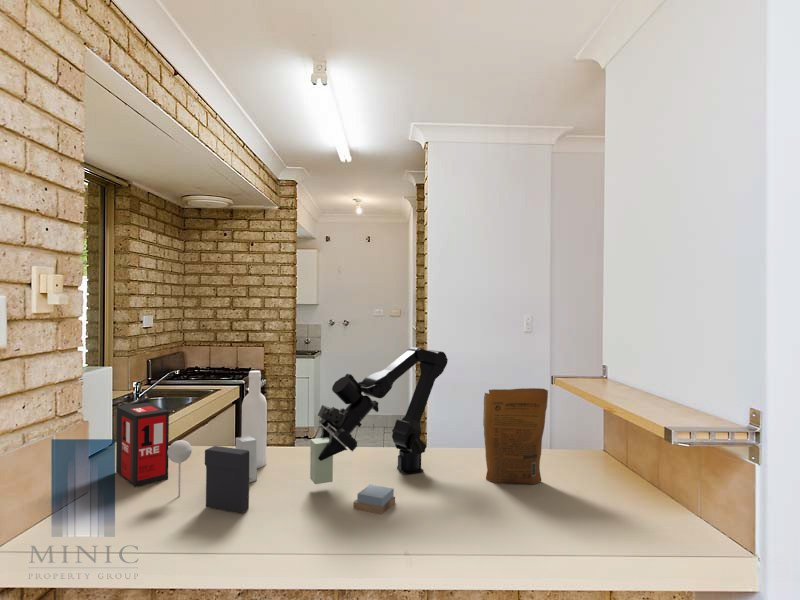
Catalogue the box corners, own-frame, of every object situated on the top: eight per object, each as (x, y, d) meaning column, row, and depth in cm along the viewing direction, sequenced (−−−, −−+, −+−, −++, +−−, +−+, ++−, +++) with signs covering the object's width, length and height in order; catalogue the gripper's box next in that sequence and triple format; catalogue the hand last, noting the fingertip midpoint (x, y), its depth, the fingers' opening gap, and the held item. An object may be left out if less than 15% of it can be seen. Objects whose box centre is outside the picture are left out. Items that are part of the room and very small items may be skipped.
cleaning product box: (116, 472, 149) (116, 406, 149) (147, 465, 156) (147, 402, 156) (135, 487, 138) (136, 416, 138) (168, 479, 144) (168, 411, 144)
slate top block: (369, 492, 132) (369, 484, 132) (393, 496, 129) (393, 488, 129) (357, 502, 126) (357, 493, 126) (382, 507, 123) (382, 498, 123)
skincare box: (257, 480, 144) (258, 439, 144) (242, 484, 141) (243, 441, 141) (249, 474, 149) (249, 434, 149) (234, 478, 146) (235, 437, 146)
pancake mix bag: (549, 487, 141) (551, 390, 141) (483, 485, 142) (484, 388, 142) (544, 479, 148) (545, 386, 148) (480, 476, 149) (481, 384, 149)
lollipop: (196, 494, 133) (197, 439, 133) (178, 502, 128) (179, 444, 128) (180, 490, 136) (180, 436, 136) (161, 498, 130) (162, 441, 130)
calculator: (250, 508, 125) (251, 449, 125) (240, 515, 121) (240, 454, 121) (215, 502, 128) (216, 444, 128) (203, 508, 124) (204, 449, 124)
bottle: (271, 462, 160) (272, 370, 160) (258, 470, 153) (259, 373, 153) (249, 459, 162) (250, 369, 162) (235, 467, 155) (236, 372, 155)
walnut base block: (368, 499, 133) (368, 491, 133) (395, 505, 130) (395, 496, 130) (353, 510, 126) (353, 502, 126) (381, 516, 122) (381, 508, 122)
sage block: (327, 475, 140) (327, 437, 140) (332, 481, 136) (333, 441, 136) (310, 478, 138) (310, 439, 138) (314, 484, 134) (315, 443, 134)
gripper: (326, 389, 147) (289, 430, 142) (346, 401, 130) (304, 448, 125) (351, 413, 150) (315, 453, 146) (373, 428, 133) (334, 474, 129)
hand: (316, 456), depth 136 cm, fingers closed on sage block, 5 cm apart
